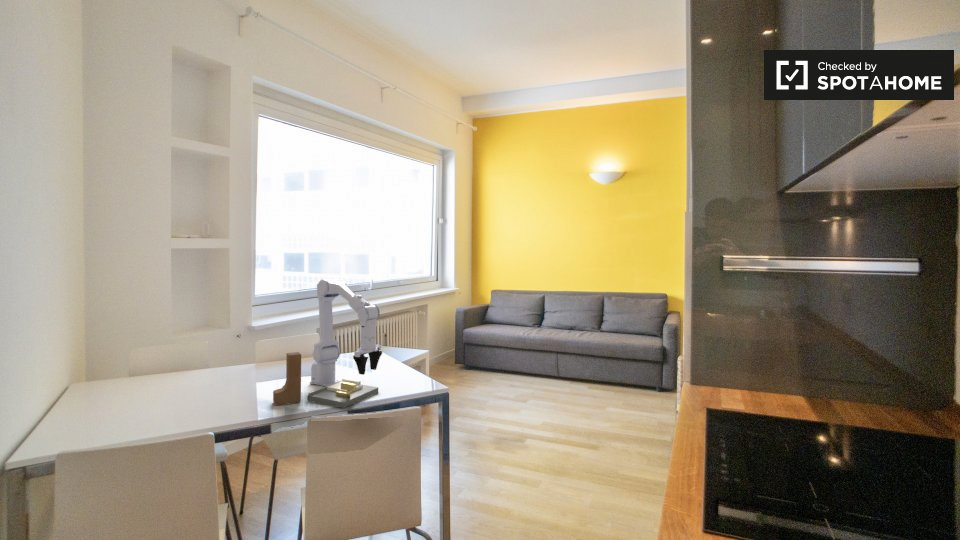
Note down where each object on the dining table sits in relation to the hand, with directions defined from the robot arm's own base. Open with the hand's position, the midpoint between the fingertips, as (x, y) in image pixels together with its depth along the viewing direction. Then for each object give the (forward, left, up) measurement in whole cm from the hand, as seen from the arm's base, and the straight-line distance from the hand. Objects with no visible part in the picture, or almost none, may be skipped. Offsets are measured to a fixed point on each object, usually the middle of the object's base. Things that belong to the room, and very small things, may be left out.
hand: (367, 371), depth 193 cm
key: (-4, -8, -8) cm, 12 cm away
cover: (-10, -1, -8) cm, 13 cm away
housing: (-8, -3, -10) cm, 14 cm away
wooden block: (-22, -19, -10) cm, 31 cm away
